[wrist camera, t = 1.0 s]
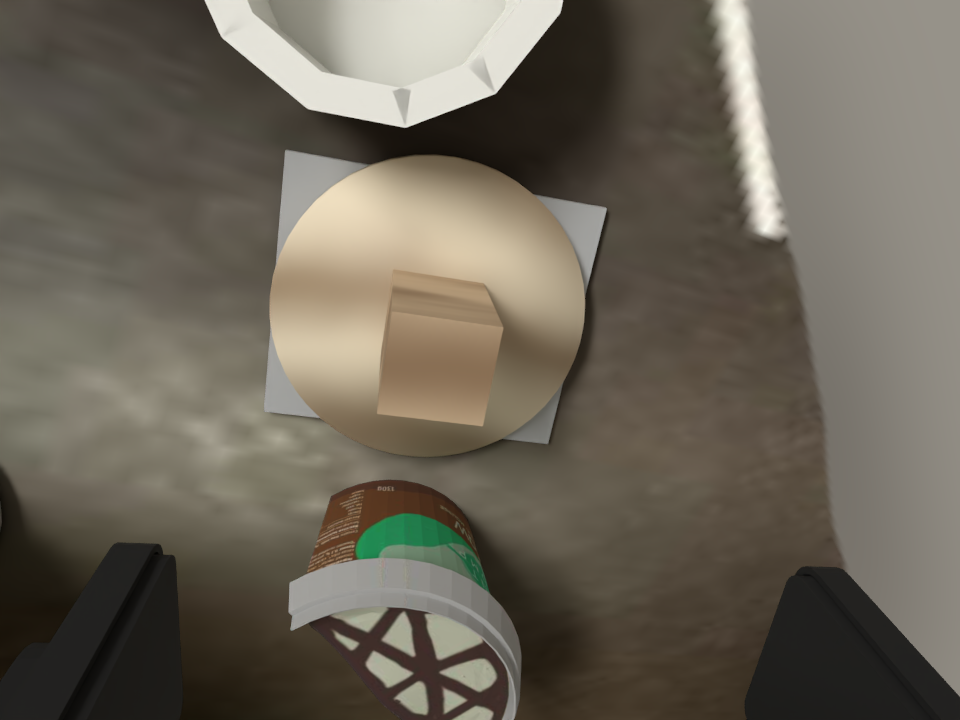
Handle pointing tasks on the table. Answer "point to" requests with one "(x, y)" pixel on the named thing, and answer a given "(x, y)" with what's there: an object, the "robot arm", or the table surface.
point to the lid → (427, 305)
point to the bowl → (385, 50)
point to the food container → (410, 604)
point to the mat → (319, 173)
